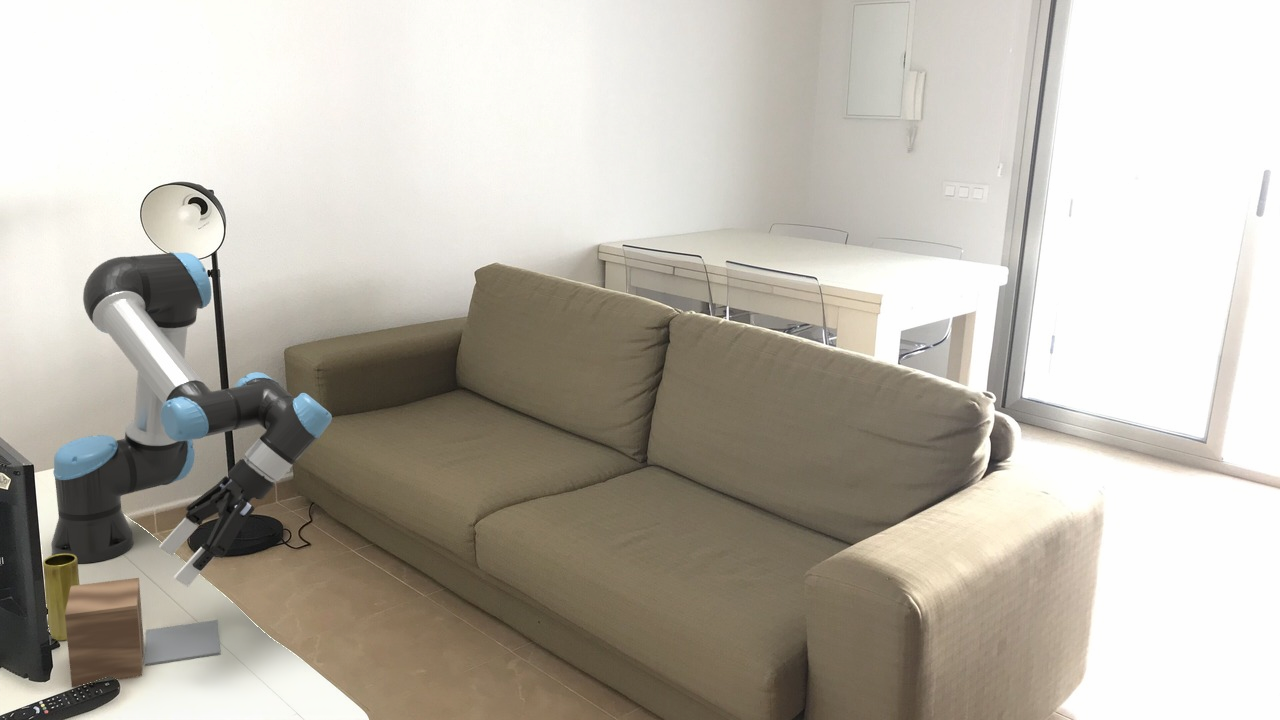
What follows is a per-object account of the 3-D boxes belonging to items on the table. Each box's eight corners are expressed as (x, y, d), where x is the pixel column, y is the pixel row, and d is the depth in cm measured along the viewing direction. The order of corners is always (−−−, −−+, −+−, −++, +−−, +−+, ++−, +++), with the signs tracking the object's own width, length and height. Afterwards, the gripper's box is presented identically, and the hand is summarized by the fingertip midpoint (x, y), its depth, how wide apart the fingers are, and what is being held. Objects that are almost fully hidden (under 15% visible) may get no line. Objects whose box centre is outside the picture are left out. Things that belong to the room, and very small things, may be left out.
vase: (78, 640, 181) (72, 566, 177) (41, 641, 180) (34, 567, 176) (91, 623, 186) (84, 551, 183) (54, 624, 185) (47, 552, 182)
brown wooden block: (77, 655, 176) (70, 586, 173) (143, 645, 180) (138, 577, 177) (71, 687, 167) (64, 614, 164) (142, 676, 171) (136, 605, 168)
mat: (146, 631, 185) (146, 629, 185) (217, 621, 190) (217, 619, 189) (144, 665, 174) (144, 663, 174) (220, 654, 179) (220, 652, 179)
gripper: (295, 506, 172) (205, 607, 168) (257, 460, 192) (176, 549, 188) (261, 481, 168) (168, 584, 164) (226, 437, 188) (142, 528, 184)
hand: (172, 566), depth 176 cm, fingers open, 13 cm apart
